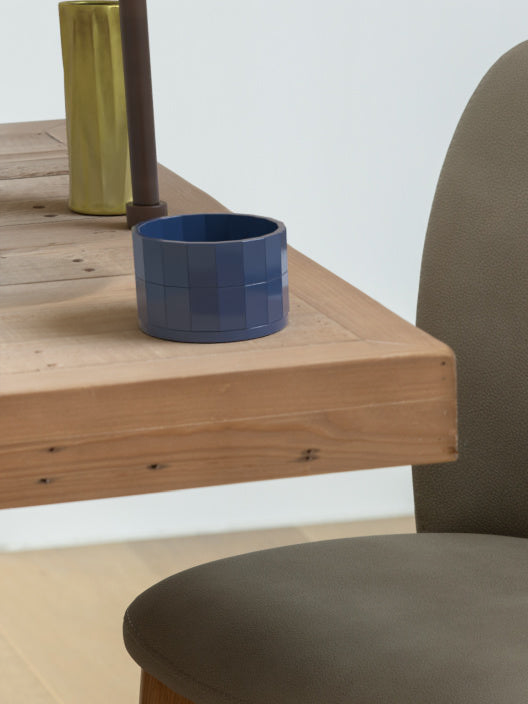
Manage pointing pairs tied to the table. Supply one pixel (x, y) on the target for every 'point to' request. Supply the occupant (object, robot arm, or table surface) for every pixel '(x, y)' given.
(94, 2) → the vase
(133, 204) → the stir stick
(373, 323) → the table surface
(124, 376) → the table surface
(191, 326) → the bowl
